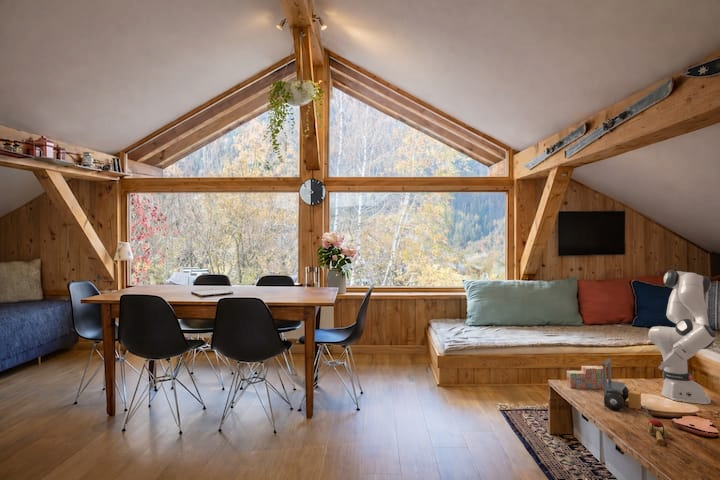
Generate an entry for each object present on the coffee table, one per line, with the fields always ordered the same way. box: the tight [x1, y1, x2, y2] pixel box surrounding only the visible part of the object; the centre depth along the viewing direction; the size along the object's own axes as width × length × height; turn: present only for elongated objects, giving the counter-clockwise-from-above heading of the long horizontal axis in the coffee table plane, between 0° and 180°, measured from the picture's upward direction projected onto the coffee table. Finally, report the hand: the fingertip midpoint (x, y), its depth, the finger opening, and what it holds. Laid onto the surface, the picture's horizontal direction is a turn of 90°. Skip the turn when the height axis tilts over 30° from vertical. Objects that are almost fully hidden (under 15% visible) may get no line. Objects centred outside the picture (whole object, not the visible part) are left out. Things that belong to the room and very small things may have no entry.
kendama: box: [647, 418, 668, 447], centre depth 200 cm, size 8×6×18 cm
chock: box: [628, 389, 642, 410], centre depth 237 cm, size 5×5×8 cm
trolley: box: [602, 357, 630, 412], centre depth 241 cm, size 10×21×23 cm, turn 141°
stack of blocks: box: [566, 365, 608, 390], centre depth 272 cm, size 21×6×12 cm, turn 85°
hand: (660, 366), depth 229 cm, fingers open, 8 cm apart
